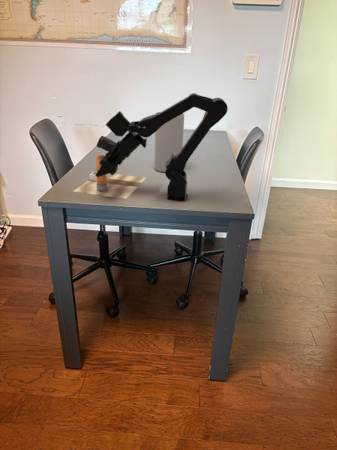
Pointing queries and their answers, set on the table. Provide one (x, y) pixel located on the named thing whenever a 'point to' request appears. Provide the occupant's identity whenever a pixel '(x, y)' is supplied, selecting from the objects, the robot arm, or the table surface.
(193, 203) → the table surface
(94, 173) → the block
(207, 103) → the robot arm
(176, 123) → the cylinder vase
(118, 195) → the subfloor board
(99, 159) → the awl
